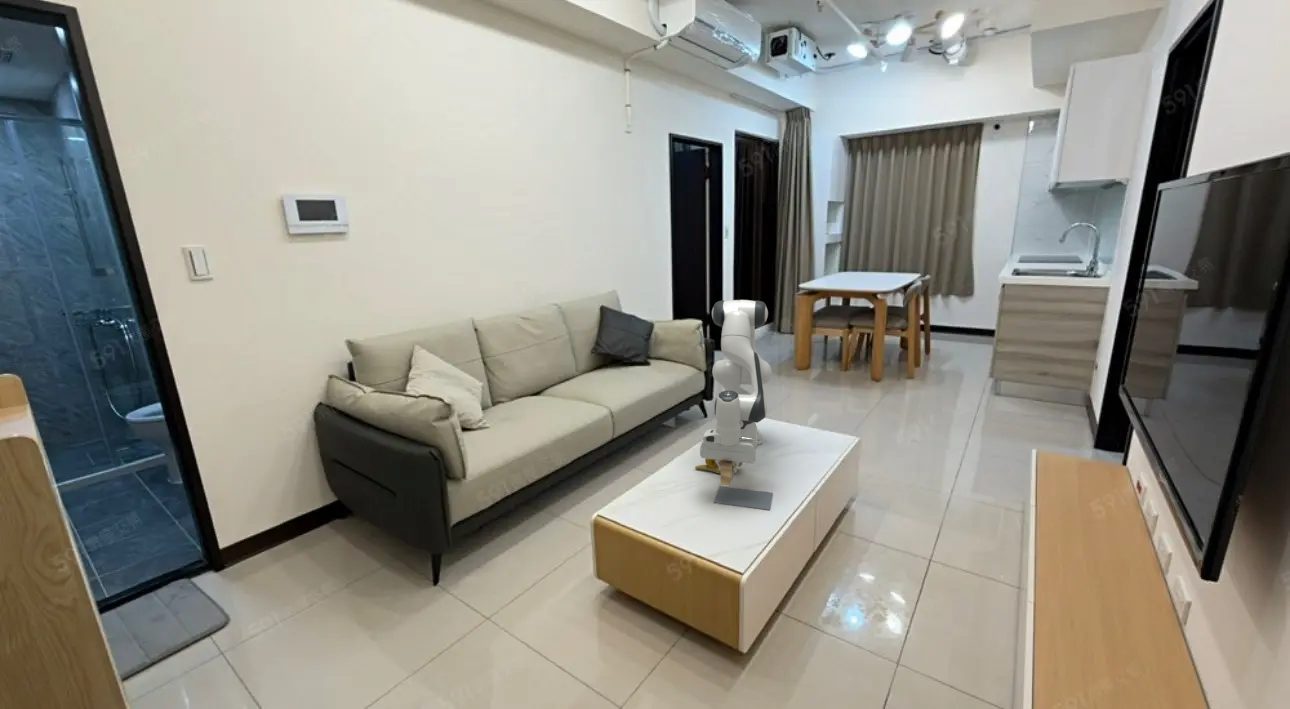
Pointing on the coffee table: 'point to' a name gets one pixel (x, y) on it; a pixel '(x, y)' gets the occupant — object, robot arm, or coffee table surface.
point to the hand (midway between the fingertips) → (727, 470)
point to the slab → (727, 472)
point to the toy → (712, 465)
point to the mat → (744, 498)
